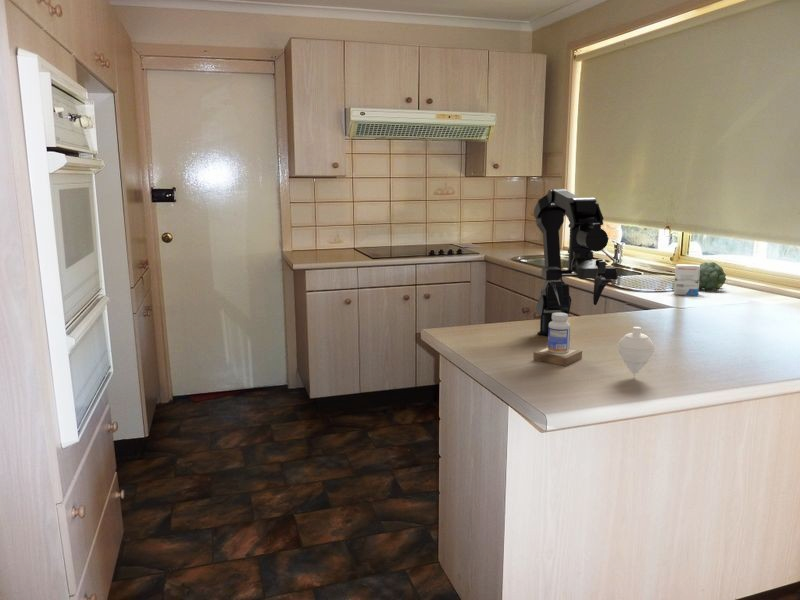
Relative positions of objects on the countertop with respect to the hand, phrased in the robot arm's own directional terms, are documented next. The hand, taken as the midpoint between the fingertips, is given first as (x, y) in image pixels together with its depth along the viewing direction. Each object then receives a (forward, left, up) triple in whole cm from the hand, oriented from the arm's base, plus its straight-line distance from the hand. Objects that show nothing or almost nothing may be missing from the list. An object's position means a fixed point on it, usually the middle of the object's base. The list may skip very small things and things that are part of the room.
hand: (577, 305), depth 165 cm
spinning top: (+21, -13, -13) cm, 28 cm away
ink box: (-4, +104, -13) cm, 105 cm away
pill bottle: (0, -10, -11) cm, 14 cm away
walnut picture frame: (0, -10, -13) cm, 16 cm away
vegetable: (-1, +120, -13) cm, 121 cm away
